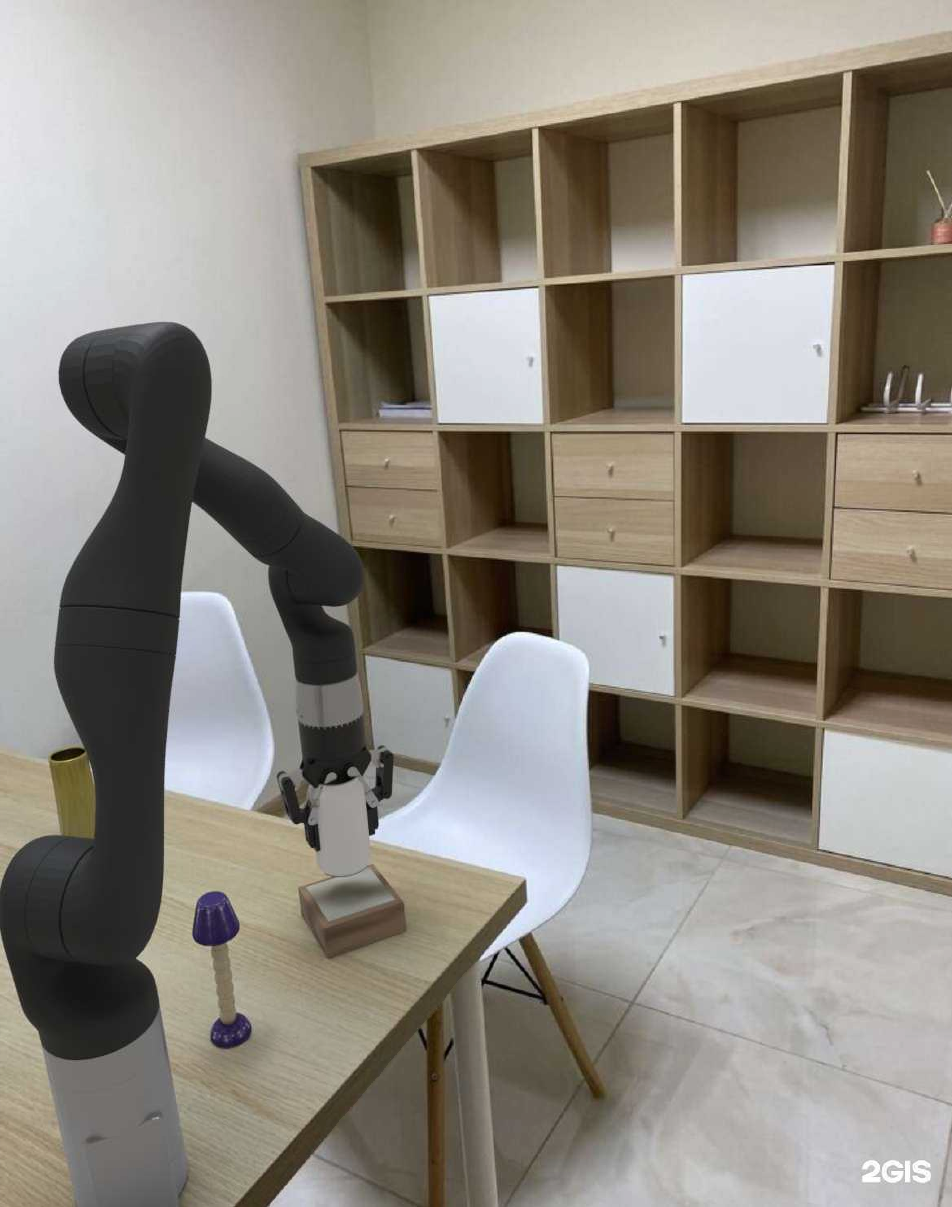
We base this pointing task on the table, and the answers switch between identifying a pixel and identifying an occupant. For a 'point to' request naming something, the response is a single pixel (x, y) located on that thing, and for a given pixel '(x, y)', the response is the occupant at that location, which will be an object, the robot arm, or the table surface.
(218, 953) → the toy lamp
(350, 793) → the can
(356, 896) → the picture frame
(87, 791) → the vase
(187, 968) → the table surface
